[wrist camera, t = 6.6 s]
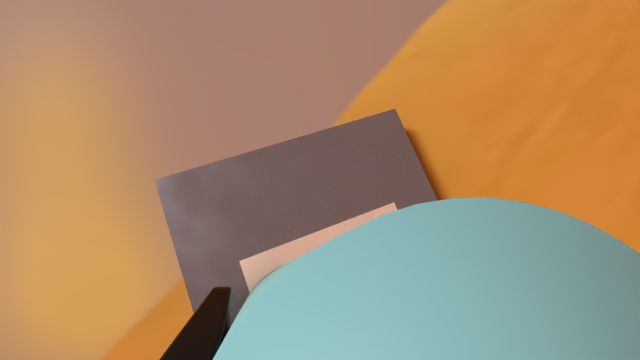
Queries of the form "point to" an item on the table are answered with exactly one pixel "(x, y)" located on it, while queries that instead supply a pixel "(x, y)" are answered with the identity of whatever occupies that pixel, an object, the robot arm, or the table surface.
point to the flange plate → (286, 201)
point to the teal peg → (449, 290)
